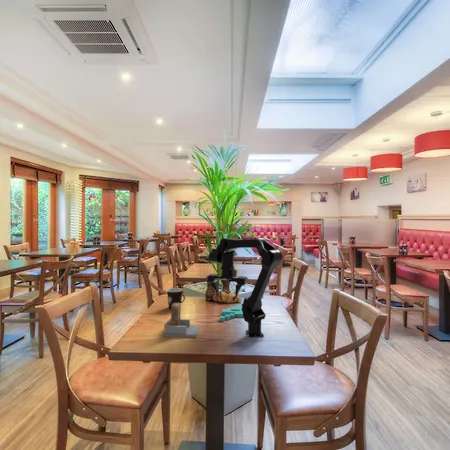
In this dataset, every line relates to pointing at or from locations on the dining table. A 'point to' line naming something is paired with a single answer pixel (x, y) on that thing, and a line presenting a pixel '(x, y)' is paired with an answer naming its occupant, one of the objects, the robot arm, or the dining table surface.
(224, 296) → the croissant
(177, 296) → the coffee mug
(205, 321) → the dining table surface
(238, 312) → the alien figure
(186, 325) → the seat
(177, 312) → the menu block
